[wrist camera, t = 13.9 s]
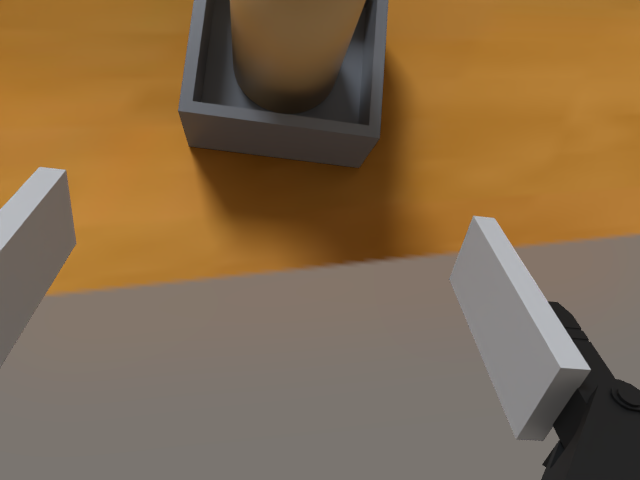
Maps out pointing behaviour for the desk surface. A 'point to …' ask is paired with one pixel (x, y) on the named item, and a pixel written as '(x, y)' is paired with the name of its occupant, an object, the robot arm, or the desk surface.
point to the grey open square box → (276, 128)
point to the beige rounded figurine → (290, 49)
